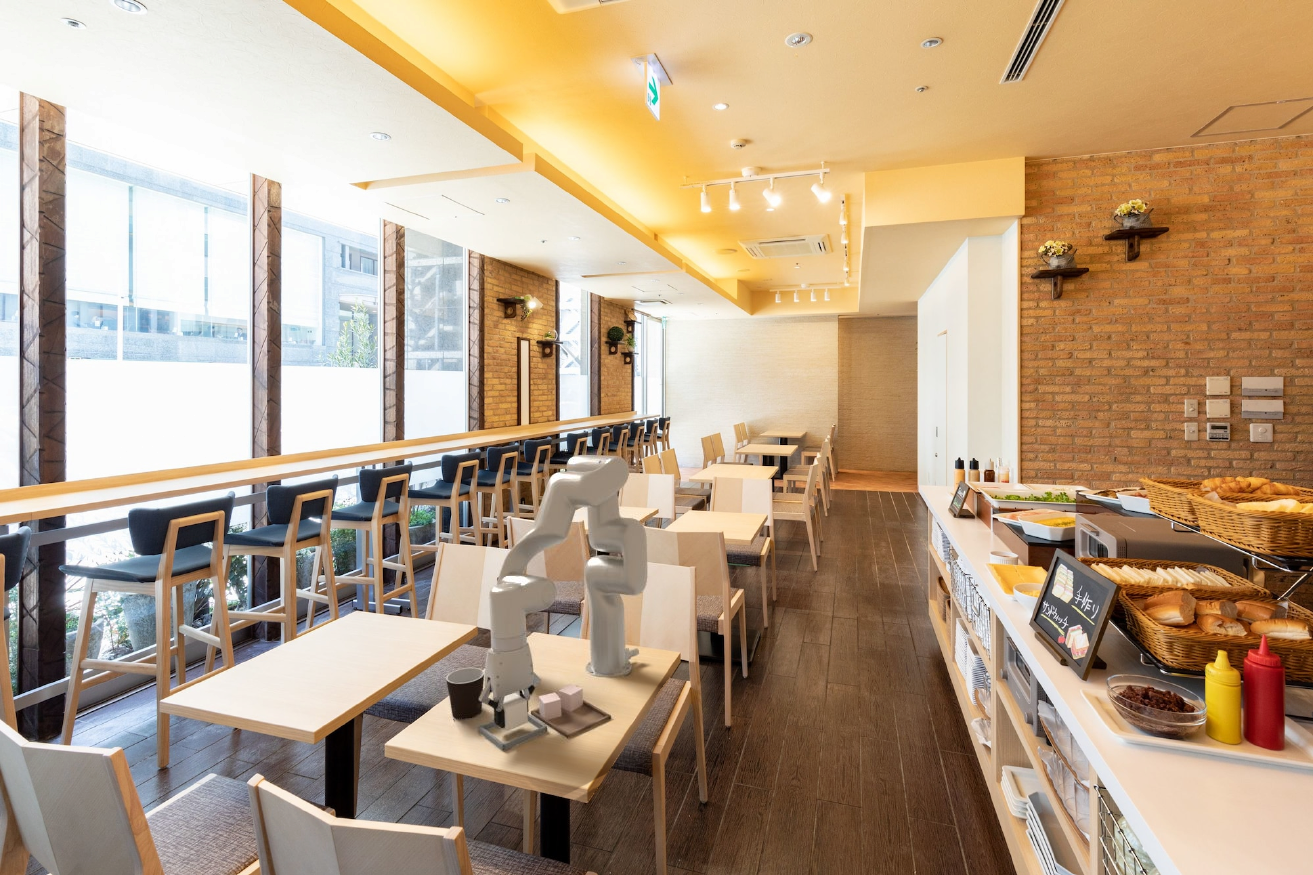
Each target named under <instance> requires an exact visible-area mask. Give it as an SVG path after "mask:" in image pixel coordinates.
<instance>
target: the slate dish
mask: <svg viewBox="0 0 1313 875" xmlns="http://www.w3.org/2000/svg"><path fill="white" fill-rule="evenodd" d="M528 723H530V724H532V725H533V726H535V727H536V729H534V730H532V731H530V732H527V733H524V734H522V735H520V736H517V737H516V738H513V739H511V740H508V741H506V742H504V743H503V741H502V740H501V739H499V738H498V737H496V736H495V735H493V734H492V733H491V732H490V731H489V730H490V729H493V728H495V727H499V726H498V725H496V724H495V722H494V719H493V720H491V721H488V722H486V723H483V724H480V725H479V726H477V733H479V734H480V735H481V736H482V737H484V739H487V740H488V741H489V742H490V743H491V744H493V745H494V746H495V747H497V748H498V749H499V750H501V752H505V751H507V750H509V749H512V748H514V747H516V746H518V745H521V744H522V743H525V742H527V741H531V740H532V739H535V738H537V737H538V736H541V735H543V734H546V733H548V725H546V724H545V723H543V722H542V721H540V720H539V719H537V718H536V717H534V716H532V715H531V713H528Z"/></svg>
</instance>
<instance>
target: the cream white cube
mask: <svg viewBox="0 0 1313 875" xmlns="http://www.w3.org/2000/svg"><path fill="white" fill-rule="evenodd" d="M502 709H503V710H504V715H505V728H503V730H506V731H510V730H513V729H516V728H517V727H520V726H522V725H525V724H528V723H529V721H528V714H529V713H528V714H527V700H525V699H524V698H522V697H521V696H520V695H519V693H518V694H517V692H515V693H513V694H510V695H507V696H505V697H504V702H503V707H502Z"/></svg>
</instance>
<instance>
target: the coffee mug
mask: <svg viewBox="0 0 1313 875" xmlns="http://www.w3.org/2000/svg"><path fill="white" fill-rule="evenodd" d="M445 680H446V685H447V691H448V698H449V703H450V709H451V715H452V717H453V722H456V720H463V721H464V720H470V719H473V718H476V717H477V716H479V715H480V714H481V713H482V710H483V708H482V707H483V703H482V702H481V701H480V700H479V697H480V695H481V693H482V691H483V690H484V685H485V670H483V669H482V668H479V667H464V668H459V669H456V670H453V671H451V672H450V673H448V674H447V675H446V677H445ZM455 719H456V720H455Z"/></svg>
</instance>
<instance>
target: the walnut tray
mask: <svg viewBox="0 0 1313 875" xmlns="http://www.w3.org/2000/svg"><path fill="white" fill-rule="evenodd" d="M530 715H531V716H533V717H534V718H536V719H537V720H539V721H540V722H542V723H543V724H545V725H546V726H547V727H548V728H551V729H552V730H553V731H555V732H557V733H559V734H560V735H561V736H562V737H564V738H566V739H570V738H572V737H574V736H577V735H579V734H581V733H583V732H585V731H587V730H589V729H591V728H594V727H596V726H598V725H600V724H603V723H605V722H606V721H609V720H611V719H612V716H611V714H609V713H607V712H606V711H604V710H602V709H600V708H599V707H598V706H594V705H593V704H591V703H590V702H588V701H586V700H584V699H583V705H582V706H580V707H578V708H577V709H575V710H573V711H568V710H566V709H563V708H561V716H560V717H556V718H552V719H549V720H547V719H545V718H544V717H542V716H541V715H540V713H539V707H538V708H535V709H533V710H530Z"/></svg>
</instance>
